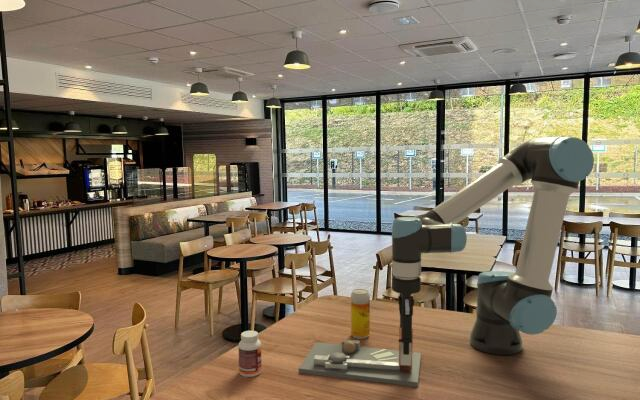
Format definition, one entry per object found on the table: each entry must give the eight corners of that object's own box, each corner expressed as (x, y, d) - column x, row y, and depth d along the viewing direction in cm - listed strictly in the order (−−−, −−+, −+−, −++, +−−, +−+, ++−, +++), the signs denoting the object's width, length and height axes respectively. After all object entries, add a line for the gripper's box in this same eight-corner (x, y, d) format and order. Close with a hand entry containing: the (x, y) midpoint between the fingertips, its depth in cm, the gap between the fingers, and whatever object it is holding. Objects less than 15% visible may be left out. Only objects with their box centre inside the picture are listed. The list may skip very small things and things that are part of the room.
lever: (312, 367, 128) (312, 327, 127) (316, 358, 134) (316, 319, 133) (412, 375, 124) (413, 333, 122) (412, 365, 129) (412, 325, 128)
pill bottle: (262, 376, 127) (262, 337, 126) (239, 379, 126) (238, 339, 124) (260, 366, 133) (259, 328, 132) (238, 368, 132) (237, 330, 130)
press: (421, 356, 138) (421, 341, 138) (417, 386, 121) (417, 369, 120) (316, 345, 146) (315, 331, 146) (298, 372, 129) (298, 355, 128)
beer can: (368, 340, 150) (368, 294, 148) (349, 338, 151) (349, 293, 150) (370, 333, 156) (370, 289, 154) (352, 331, 157) (352, 288, 156)
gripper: (391, 267, 133) (390, 347, 135) (392, 284, 116) (392, 374, 119) (418, 268, 132) (416, 348, 134) (423, 285, 115) (422, 376, 118)
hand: (405, 360), depth 126 cm, fingers closed on lever, 4 cm apart
